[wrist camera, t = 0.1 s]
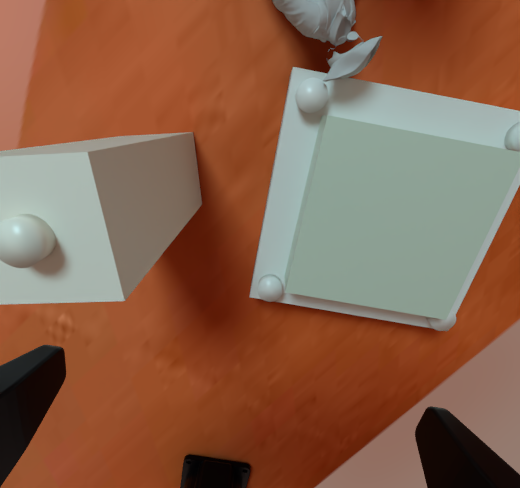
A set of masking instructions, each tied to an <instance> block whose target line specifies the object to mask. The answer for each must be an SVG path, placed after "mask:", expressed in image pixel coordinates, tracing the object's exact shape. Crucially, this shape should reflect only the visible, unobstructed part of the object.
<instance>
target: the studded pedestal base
mask: <svg viewBox="0 0 520 488" xmlns="http://www.w3.org/2000/svg"><path fill="white" fill-rule="evenodd" d="M326 75H327V73H322V72H317V71H312V70H307V69H302V68H297V67H293V68H292V71H291V75H290V80H289V85H288V91H287V96H286V101H285V107H284V112H283V117H282V123H281V128H280V133H279V139H278V144H277V149H276V154H275V160H274V165H273V170H272V176H271V181H270V186H269V192H268V197H267V202H266V208H265V213H264V218H263V224H262V229H261V234H260V240H259V245H258V250H257V256H256V261H255V266H254V272H253V277H252V282H251V290H250V297H251V298H257V299H263V300H264V301H267V302H273V301H275V302H281V303H286V304H292V305H298V306H304V307H310V308H316V309H322V310H327V311H333V312H339V313H345V314H351V315H357V316H363V317H368V318H374V319H380V320H386V321H392V322H398V323H404V324H409V325H415V326H421V327H427V328H433V329H435V330H437V331H448V329H450V328H451V327H453V326H454V324H455V322H456V316H455V315H456V313H457V311H458V309H459V307H460V305H461V303H462V301H463V299H464V297H465V295H466V293H467V291H468V289H469V287H470V285H471V282H472V280H473V278H474V276H475V274H476V272H477V270H478V268H479V266H480V264H481V262H482V260H483V258H484V256H485V254H486V252H487V250H488V248H489V246H490V244H491V242H492V240H493V238H494V236H495V234H496V232H497V230H498V228H499V226H500V224H501V222H502V220H503V218H504V216H505V214H506V212H507V209H508V207H509V205H510V203H511V201H512V199H513V197H514V195H515V193H516V191H517V189H518V187H519V185H520V111H517V110H512V109H507V108H502V107H496V106H491V105H486V104H481V103H476V102H471V101H466V100H461V99H455V98H450V97H445V96H440V95H435V94H430V93H425V92H420V91H414V90H409V89H404V88H399V87H394V86H389V85H384V84H379V83H374V82H368V81H363V80H358V79H353V78H348V77H347V78H343V79H340V80H330V81H327V82H325V81H323V80H324V78H325V77H326Z"/></svg>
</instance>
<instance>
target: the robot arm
mask: <svg viewBox="0 0 520 488" xmlns="http://www.w3.org/2000/svg"><path fill="white" fill-rule="evenodd" d="M65 377H66V364H65V353H64V349H63V348H62V347H58V346H52V345H43V346H40V347H38V348H36V349H34V350H32V351H30V352H28V353H26V354H24V355H22V356H20V357H18V358H16V359H14V360H12V361H9V362H7V363H5V364H3V365H1V366H0V487H1V485H2V484H3V482H4V481H5V479H6V478H7V476H8V475H9V474H10V472H11V471H12V469H13V468H14V466H15V465H16V463H17V462H18V460H19V459H20V457H21V456H22V454H23V453H24V451H25V450H26V448H27V446H28V445H29V443H30V441H31V440H32V438H33V436H34V434H35V433H36V431H37V429H38V427H39V425H40V424H41V422H42V420H43V418H44V417H45V415H46V413H47V411H48V409H49V408H50V406H51V404H52V402H53V400H54V399H55V397H56V395H57V393H58V392H59V390H60V388H61V386H62V384H63V382H64V380H65ZM415 437H416V442H417V446H418V451H419V454H420V459H421V463H422V467H423V471H424V475H425V479H426V483H427V487H428V488H520V475H519V474H518V473H517V472H516V471H515V470H514V469H513V468H512V467H510V466H509V465H508V464H507V463H506V462H505V461H504V460H503V459H502V458H500V457H499V456H498V455H497V454H496V453H495V452H494V451H493V450H491V449H490V448H489V447H488V446H487V445H486V444H485V443H484V442H483V441H481V440H480V439H479V438H478V437H477V436H476V435H475V434H474V433H473V432H471V431H470V430H469V429H468V428H467V427H466V426H465V425H464V424H463V423H461V422H460V421H459V420H458V419H457V418H456V417H455V416H453V414H451V413H450V412H449V411H448V410H446V409H443V408H438V407H428V408H427V409H426V410H425V412H424V414H423V416H422V418H421V420H420V422H419V423H418V425H417V428H416V431H415ZM249 474H250V465H249V464H246V463H239V462H233V461H226V460H220V459H213V458H207V457H200V456H194V455H186V456H185V458H184V463H183V471H182V479H181V487H180V488H246V486H247V482H248V478H249Z"/></svg>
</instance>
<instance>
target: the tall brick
mask: <svg viewBox="0 0 520 488" xmlns="http://www.w3.org/2000/svg"><path fill="white" fill-rule="evenodd" d="M201 205H202V199H201V191H200V183H199V175H198V167H197V159H196V151H195V143H194V135H193V132H188V133H170V134H153V135H135V136H119V137H111V138H103V139H95V140H87V141H79V142H71V143H62V144H54V145H46V146H38V147H30V148H22V149H14V150H6V151H0V304H34V303H71V302H108V301H125V300H126V299H127V298H128V296H129V295H130V294H131V293H132V291H133V290H134V289H135V288H136V286H137V285H138V284H139V283H140V281H141V280H142V279H143V278H144V276H145V275H146V274H147V273H148V271H149V270H150V269H151V268H152V266H153V265H154V264H155V263H156V261H157V260H158V259H159V258H160V256H161V255H162V254H163V253H164V251H165V250H166V249H167V248H168V246H169V245H170V244H171V243H172V241H173V240H174V239H175V238H176V236H177V235H178V234H179V233H180V231H181V230H182V229H183V228H184V226H185V225H186V224H187V223H188V222H189V220H190V219H191V218H192V217H193V215H194V214H195V213H196V212H197V210H198V209H199V208H200V207H201Z"/></svg>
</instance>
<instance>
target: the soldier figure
mask: <svg viewBox="0 0 520 488" xmlns="http://www.w3.org/2000/svg"><path fill="white" fill-rule="evenodd" d="M272 1H273V3H274V5H275V7H276V8H277V9H278V10H279V11H281V12H283V13H284V15H285V17H286V18H287V20H288V21H290V22H291V23H292V25H293V26H295V27H296V29H297V30H298V31H300V32H301V33H302V35H305V36H306V37H311V38H315V39H320V40H321V41H322V42H326V40H327V41H330V43H331V44H333V45H335V47H336V46H337V45H340V44H343V43H345V41H346V40H347V39H348V40H353V41H354V40H355V39H357V38H358V37H359V36H358V34H357V33H356V32H350V31H351V27H352V26H353V25H354V24H355V22H356V21H355V17H356V11H355V3H354V0H272ZM360 39H361V38H360ZM381 39H382V36H379V37H376V38H372V39H370V40H368V41H366V42H365V43H364V42H361V43H360V44H358V45H356V46H355V47H354V48H352V49H351V50H350V51H348V52H346V53H343V54H339V53H337V52H334V53H333V57H332V58H331V59H329V61H328V60H327V61H328V64H329V66H330V67H331V68H330V71H329V72H328V74H327V75H326V77H325V78H324V80H323V81H325V82H327V81H330V80H340V79H343V78H347V77H350V76H353V75H356V74H358V73H359V72H360V71H361V70H362V69H363V68H364V67H366V66H367V65H368V63H369V62H370V61H371V59H372V58H373V56H374V55H375V53H376V51H377V49H378V47H379V43H380V41H381ZM361 40H362V39H361ZM349 42H352V41H349ZM330 49H332V48H330ZM330 49H329V50H330Z"/></svg>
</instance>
